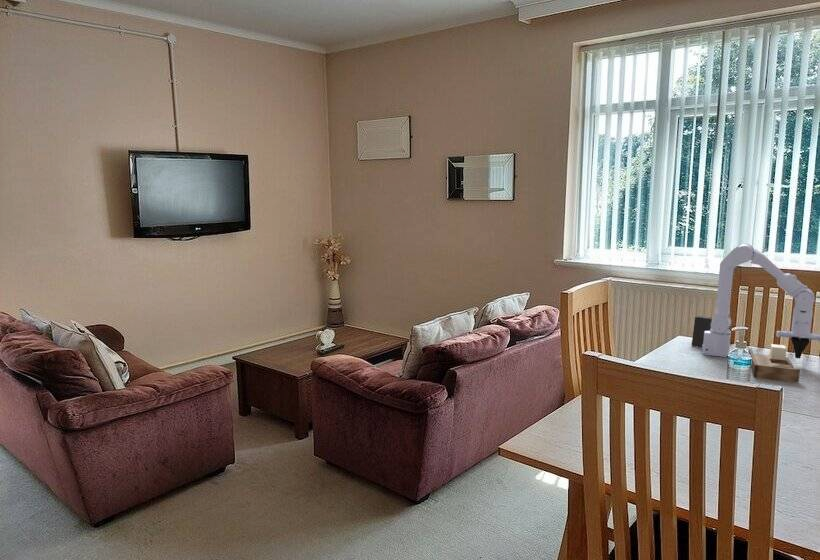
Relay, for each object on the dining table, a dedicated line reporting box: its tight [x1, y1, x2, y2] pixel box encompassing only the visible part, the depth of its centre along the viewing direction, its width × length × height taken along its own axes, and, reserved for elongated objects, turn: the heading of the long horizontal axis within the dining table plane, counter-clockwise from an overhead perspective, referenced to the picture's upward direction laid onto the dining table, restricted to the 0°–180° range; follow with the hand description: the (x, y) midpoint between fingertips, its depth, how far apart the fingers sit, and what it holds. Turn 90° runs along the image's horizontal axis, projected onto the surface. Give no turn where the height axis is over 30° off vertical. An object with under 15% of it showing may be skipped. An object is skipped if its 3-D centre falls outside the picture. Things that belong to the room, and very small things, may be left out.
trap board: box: [747, 347, 801, 383], centre depth 206 cm, size 13×25×4 cm, turn 154°
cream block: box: [769, 343, 788, 360], centre depth 213 cm, size 4×4×4 cm
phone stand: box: [691, 315, 713, 348], centre depth 238 cm, size 9×6×12 cm, turn 145°
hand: (797, 357), depth 211 cm, fingers closed
